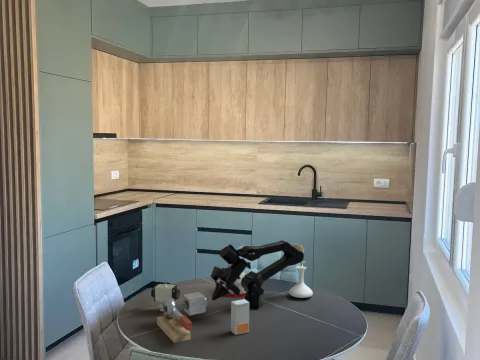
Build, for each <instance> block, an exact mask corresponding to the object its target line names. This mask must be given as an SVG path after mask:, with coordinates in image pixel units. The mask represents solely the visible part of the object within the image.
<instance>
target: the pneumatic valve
mask: <svg viewBox="0 0 480 360" xmlns="http://www.w3.org/2000/svg"><path fill="white" fill-rule="evenodd" d="M150 296H151V298H152V299H153V302H160V304H159V306H158V308H159V311H160V312H161V313H162V312H163V313H164V310H163V301H164V299H168V298H173V299H174V300H175V302H176V301H177V300H179V298H180V296H181V290H180V288H178V285H177V284H176V285H175V284H167V283H163V284H162V283H158V284H156V285H154V286H153V287H152V288H151V291H150Z"/></svg>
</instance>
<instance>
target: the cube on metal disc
mask: <svg viewBox="0 0 480 360" xmlns="http://www.w3.org/2000/svg"><path fill="white" fill-rule="evenodd" d="M182 300H183V301H187V302H188V309H183V311H184V312H185V313H186V314H187V315H189V316H193V315H198V314H203V313H206V310H207V307H208V300H207V297H206V295H205V293H201V292H199V291H196V292H191V293H185V294H183V299H182ZM183 301H182V302H183Z"/></svg>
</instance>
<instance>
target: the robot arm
mask: <svg viewBox="0 0 480 360" xmlns="http://www.w3.org/2000/svg"><path fill="white" fill-rule="evenodd" d="M291 245H292V244H290V243H289V242H288V241H286V240H283V239H282V240H279V241H274V242H270V243H266V244H261V245H253V244H252V245H249V244H248V245H247V244H246V245H243V246H242V247H241V248H238V249H236V248H235V247H234V246H233V244H228V245H227V246H224V248H221V249H220V251H219V254H218V255H219V257H220V258H221V259H222V260H223V261H225V263H226V264H228V265H229V266H230V267H220V266H219V267H218V266H216V265H214V267H213V268H212V271H211V274H210V275H209V277H210V279H212V280H213V281H214V283H215V288H214V291H213V293H212V296H211V300H212V301H216V300H218V299H219V298H222V297H224V296H226V294H229V293H230V290H231V291H232V292H233V293H234V294H235V295H237V296H238V295H239V294H240V289H239V288H238V287H237V286H236V285H235V284H234V282H235V281H236V280H237V279H240V277H239V276H240V275H241V273H242V272H244V271H245V269H246V268H247V269H248V270H251V269H252V266H251V262H255V261H256V260H258V259H260V258H261V257H262V256H265V255H270V254H274V253H278V252H282V253H283V255H282V257H281V258H279V259H277V260H275V261H274V262H273V263H271V264H269V265H268V266H266V267H264V268H263V269H261V270H260V271H258V272H254V271H252V270H251V271H248V272H247V273H245V274H246V275H244V277H243V278H242V280H241V286H242V287H243V288H244V291H246V296H244V299H245V300H246V301H248V302H249V309H250V310H251V309H252V310H259V309H260V308H261V307H262V306H263V303H262V296H263V295H264V292H265V290H264V289H263V288H262V286H263V284H264V282H265V281H267V280H269V279H271V278H272V277H273V276H274V275H275V276H276V275H277V274H278V273H279V272H282V271H283V270H284V269H286V268H288V267H290V266H296V265H298V264H300V263H301V262H303V261H304V258H305V254H304V253H303V252H302V251H299V250H297V249H296V248H294V247H293V246H291ZM246 260H247V261H246ZM231 264H232V265H231Z"/></svg>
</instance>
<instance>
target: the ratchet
mask: <svg viewBox="0 0 480 360" xmlns="http://www.w3.org/2000/svg"><path fill="white" fill-rule="evenodd" d="M184 309H188V302H187V301H178V302H176V301H175V300H174V299H173V298H168V299H164V301H163V310H164V312H163V314H164V316H165V317H166V318H172V317H174V318H175V319H176V320H177V321H179V322H180V325H182V326H183V327H184V328H185V329H186V330H187V331H188V330H189V331H191V330H193V322H192V320H191V319H189V318H188V317H187V316H186V315H184V314H182V313H181V312H180V311H182V310H183V311H184Z"/></svg>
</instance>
